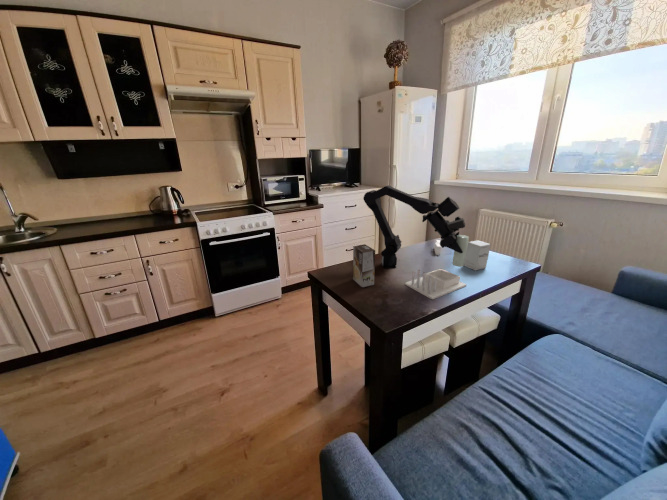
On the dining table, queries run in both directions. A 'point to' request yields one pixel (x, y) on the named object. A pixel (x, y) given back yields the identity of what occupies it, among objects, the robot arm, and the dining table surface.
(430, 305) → the dining table surface
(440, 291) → the dish drying rack
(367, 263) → the coffee box
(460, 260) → the sage green domed cylinder
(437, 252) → the napkin holder
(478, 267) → the supplement box
